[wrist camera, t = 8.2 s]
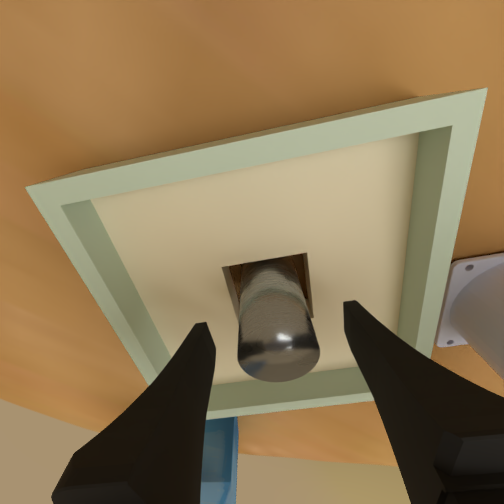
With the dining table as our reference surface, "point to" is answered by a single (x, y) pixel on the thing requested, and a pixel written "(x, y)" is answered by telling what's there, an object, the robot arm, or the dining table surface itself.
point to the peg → (274, 322)
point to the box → (276, 237)
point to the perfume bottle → (219, 461)
